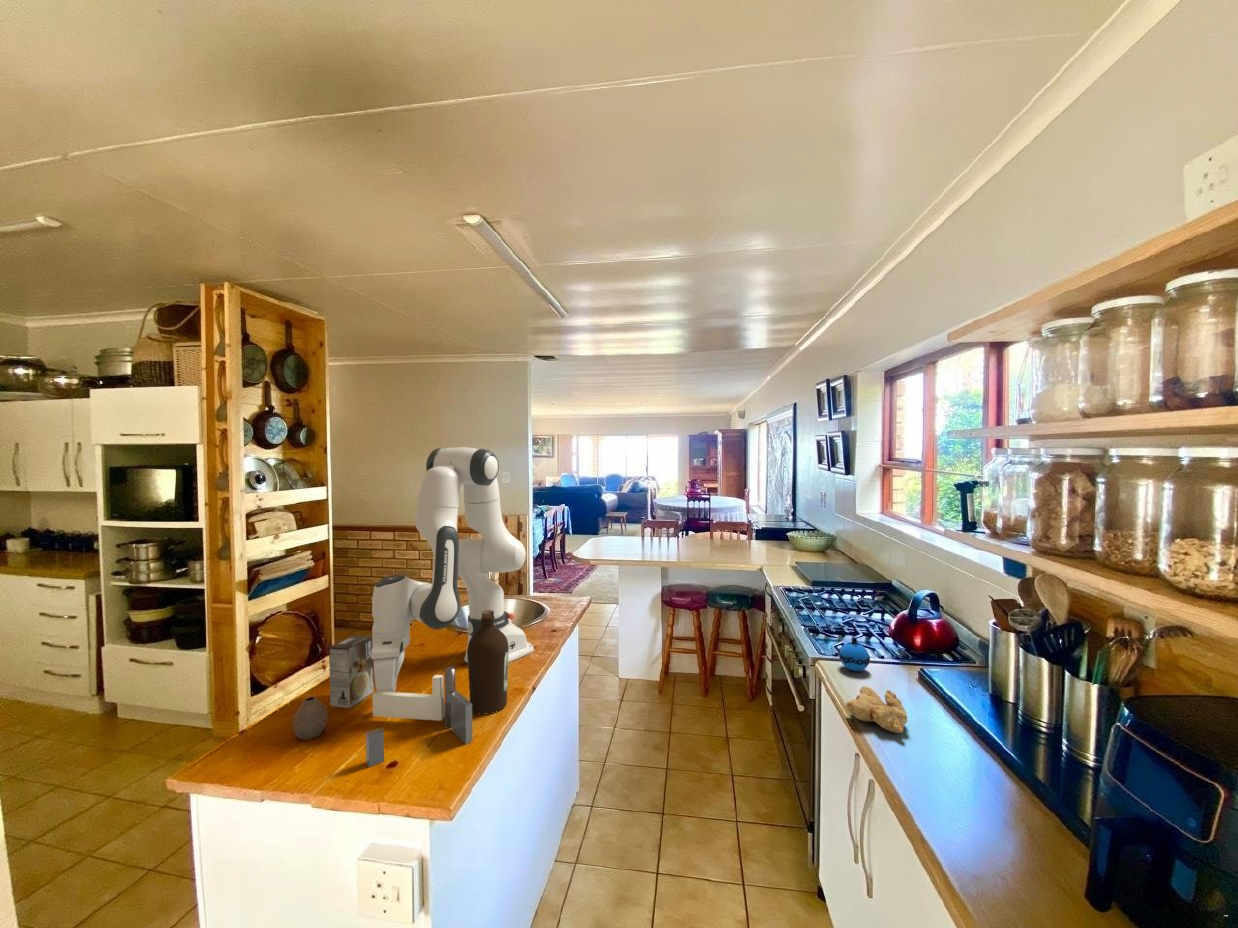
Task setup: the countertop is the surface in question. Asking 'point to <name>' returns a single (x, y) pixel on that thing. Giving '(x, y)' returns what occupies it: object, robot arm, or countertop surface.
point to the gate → (411, 703)
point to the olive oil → (488, 666)
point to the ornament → (854, 656)
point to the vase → (310, 719)
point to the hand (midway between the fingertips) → (391, 692)
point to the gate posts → (455, 718)
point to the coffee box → (351, 671)
